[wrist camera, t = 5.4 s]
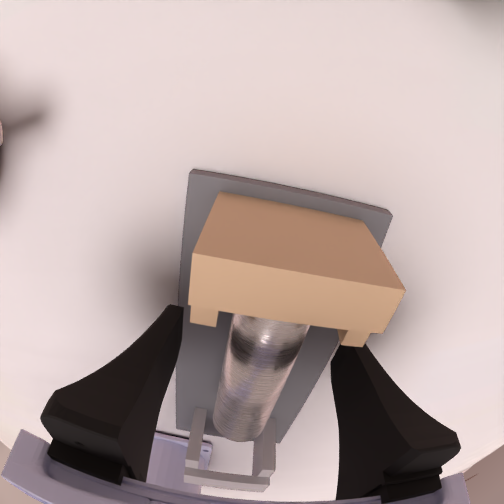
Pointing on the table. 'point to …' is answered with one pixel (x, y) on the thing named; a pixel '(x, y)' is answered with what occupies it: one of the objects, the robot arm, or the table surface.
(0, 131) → the cup
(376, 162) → the table surface
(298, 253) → the board
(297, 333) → the tube
